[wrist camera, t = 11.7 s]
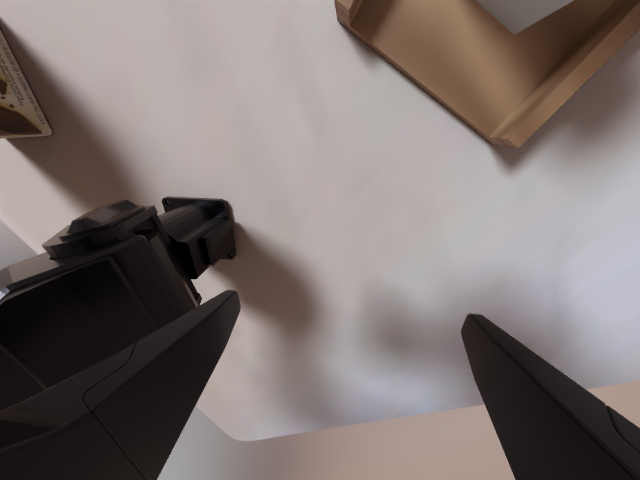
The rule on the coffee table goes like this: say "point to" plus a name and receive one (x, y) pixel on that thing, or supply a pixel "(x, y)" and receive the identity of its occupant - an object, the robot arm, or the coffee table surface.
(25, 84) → the coffee box
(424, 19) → the tray
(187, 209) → the robot arm
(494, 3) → the tall block
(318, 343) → the coffee table surface
